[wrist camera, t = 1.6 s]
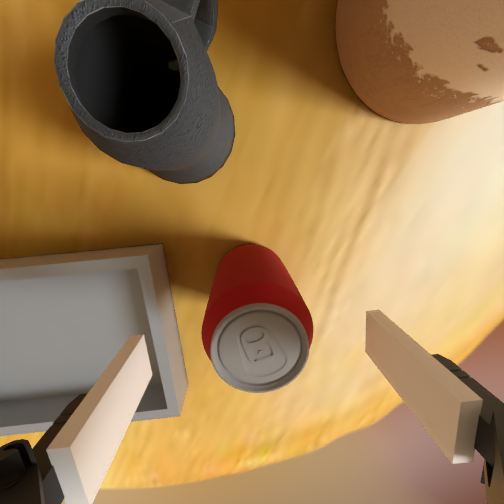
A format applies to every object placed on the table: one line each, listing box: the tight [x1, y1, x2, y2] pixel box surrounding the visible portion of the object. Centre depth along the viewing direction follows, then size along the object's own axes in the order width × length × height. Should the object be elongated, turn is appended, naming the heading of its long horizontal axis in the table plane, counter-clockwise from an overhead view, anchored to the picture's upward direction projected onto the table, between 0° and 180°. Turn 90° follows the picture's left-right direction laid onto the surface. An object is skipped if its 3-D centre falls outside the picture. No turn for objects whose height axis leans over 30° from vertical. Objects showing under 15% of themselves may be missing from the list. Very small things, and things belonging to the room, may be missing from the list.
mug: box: [54, 0, 235, 184], centre depth 16 cm, size 12×9×11 cm
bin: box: [0, 244, 188, 436], centre depth 24 cm, size 16×22×4 cm
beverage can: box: [202, 244, 313, 393], centre depth 19 cm, size 7×7×12 cm
